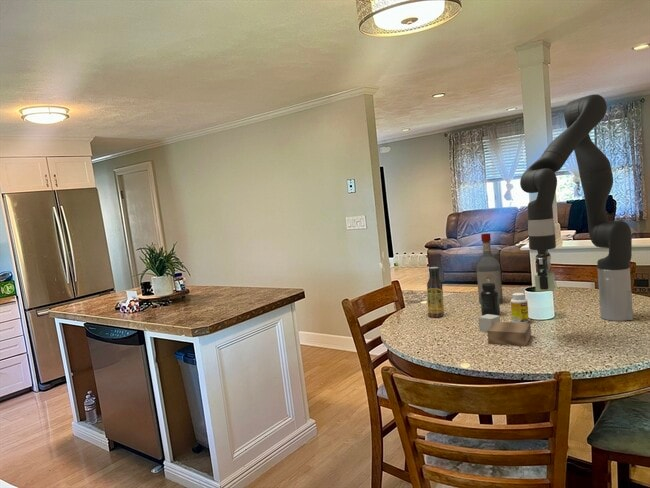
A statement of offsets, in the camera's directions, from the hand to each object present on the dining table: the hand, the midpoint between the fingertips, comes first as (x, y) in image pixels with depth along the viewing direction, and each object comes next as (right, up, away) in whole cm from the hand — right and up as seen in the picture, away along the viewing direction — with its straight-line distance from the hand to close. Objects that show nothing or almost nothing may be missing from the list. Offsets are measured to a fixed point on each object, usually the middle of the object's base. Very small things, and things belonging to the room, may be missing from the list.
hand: (545, 287), depth 140 cm
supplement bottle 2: (+1, -15, +19) cm, 24 cm away
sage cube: (0, -1, 0) cm, 1 cm away
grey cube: (-12, -16, +13) cm, 24 cm away
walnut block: (-10, -17, +2) cm, 20 cm away
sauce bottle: (-24, -16, +40) cm, 49 cm away
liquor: (+3, -12, +52) cm, 54 cm away
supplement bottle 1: (-5, -14, +33) cm, 36 cm away
